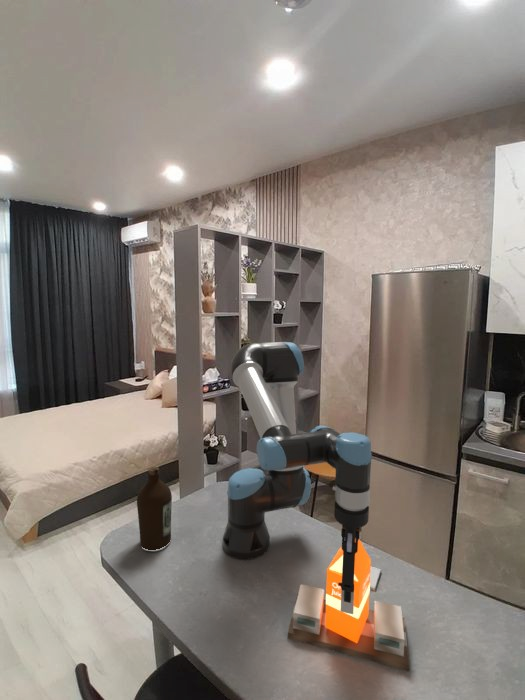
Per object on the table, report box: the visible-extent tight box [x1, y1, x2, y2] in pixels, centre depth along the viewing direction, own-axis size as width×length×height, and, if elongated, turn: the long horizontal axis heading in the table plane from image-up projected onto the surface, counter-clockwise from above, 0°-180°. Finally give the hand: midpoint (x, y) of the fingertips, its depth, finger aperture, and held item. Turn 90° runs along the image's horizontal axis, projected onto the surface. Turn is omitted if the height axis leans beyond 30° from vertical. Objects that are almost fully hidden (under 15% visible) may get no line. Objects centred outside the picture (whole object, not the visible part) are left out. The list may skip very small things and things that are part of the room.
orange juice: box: [325, 538, 372, 643], centre depth 84 cm, size 8×9×20 cm
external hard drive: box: [370, 565, 382, 592], centre depth 104 cm, size 2×8×12 cm
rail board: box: [287, 584, 410, 671], centre depth 85 cm, size 26×12×6 cm, turn 74°
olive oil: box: [136, 466, 173, 550], centre depth 115 cm, size 11×11×25 cm
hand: (348, 592), depth 84 cm, fingers open, 10 cm apart
